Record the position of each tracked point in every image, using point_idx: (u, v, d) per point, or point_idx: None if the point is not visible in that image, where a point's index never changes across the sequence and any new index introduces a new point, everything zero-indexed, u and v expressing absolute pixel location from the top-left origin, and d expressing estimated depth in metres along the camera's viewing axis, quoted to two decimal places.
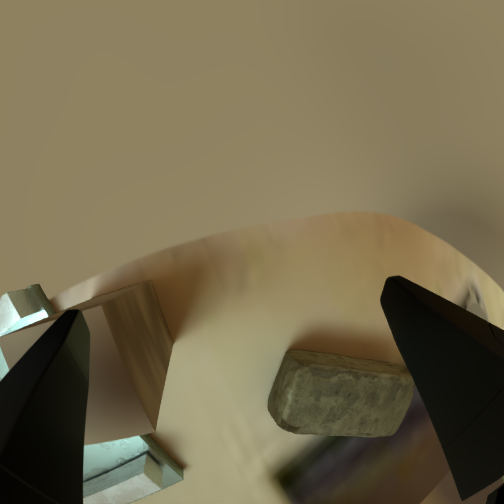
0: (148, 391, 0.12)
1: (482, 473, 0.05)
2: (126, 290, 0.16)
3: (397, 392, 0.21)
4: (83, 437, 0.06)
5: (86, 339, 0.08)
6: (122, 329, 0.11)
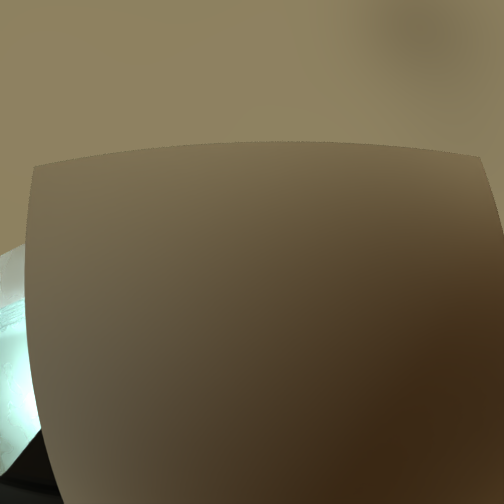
0: None
1: None
2: None
3: None
4: None
5: None
6: None
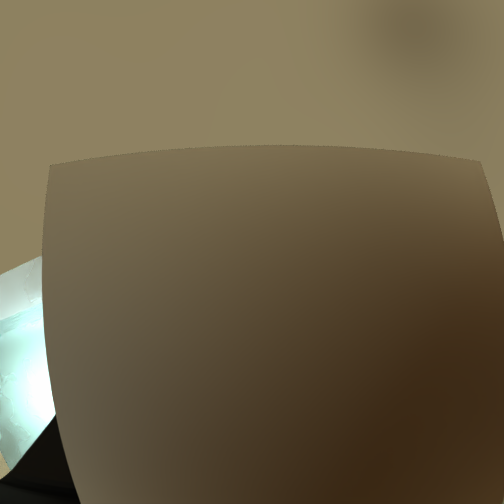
0: None
1: None
2: None
3: None
4: None
5: None
6: None
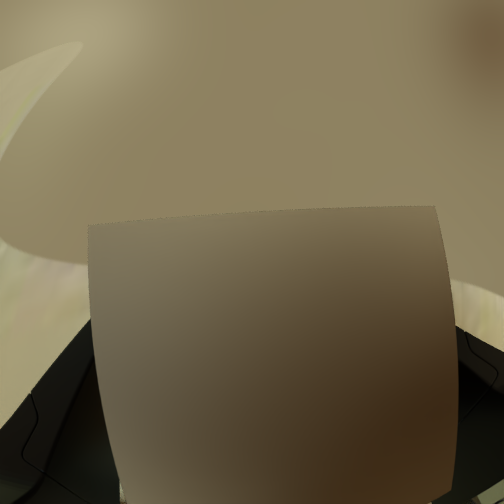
0: None
1: (456, 491, 0.05)
2: None
3: None
4: None
5: None
6: None
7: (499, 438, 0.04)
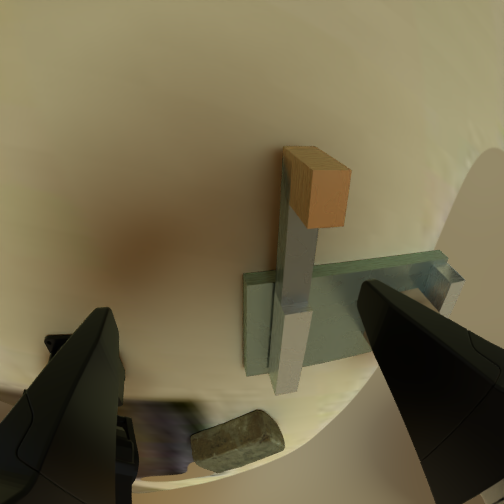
0: None
1: (460, 488, 0.05)
2: None
3: (223, 469, 0.35)
4: (114, 438, 0.06)
5: (115, 338, 0.08)
6: None
7: (502, 436, 0.04)
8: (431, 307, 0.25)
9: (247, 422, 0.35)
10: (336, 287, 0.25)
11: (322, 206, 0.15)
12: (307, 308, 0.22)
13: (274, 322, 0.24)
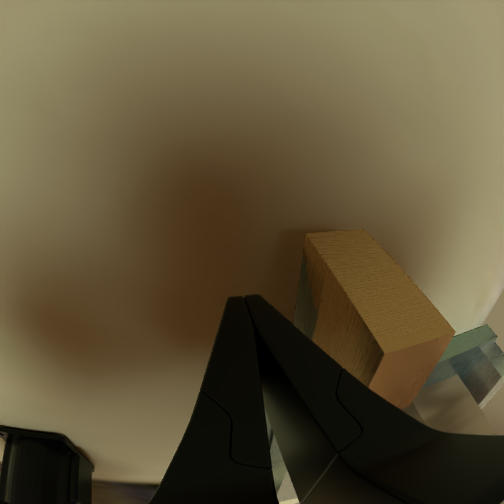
0: None
1: None
2: None
3: None
4: None
5: None
6: None
7: None
8: (473, 403, 0.17)
9: None
10: None
11: (382, 397, 0.07)
12: None
13: (275, 445, 0.16)
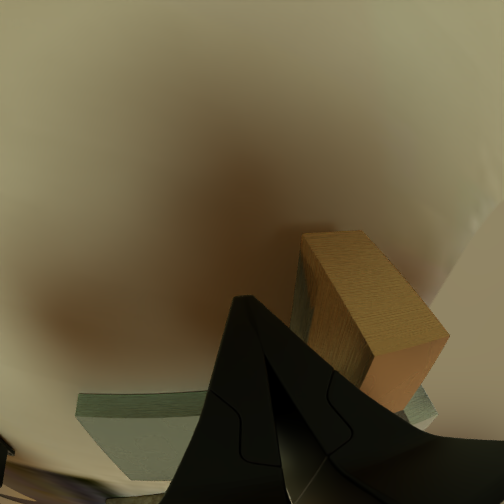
0: None
1: None
2: None
3: None
4: None
5: None
6: None
7: None
8: None
9: None
10: None
11: None
12: None
13: None
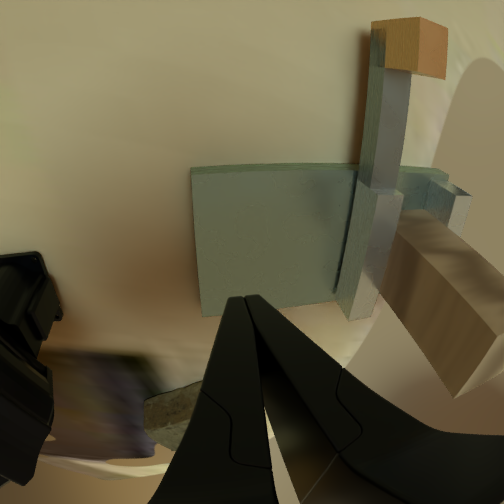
0: None
1: None
2: None
3: None
4: None
5: None
6: None
7: None
8: (443, 226, 0.20)
9: None
10: (308, 188, 0.20)
11: (428, 52, 0.12)
12: (397, 193, 0.18)
13: (354, 220, 0.21)
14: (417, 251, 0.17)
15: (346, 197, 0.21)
